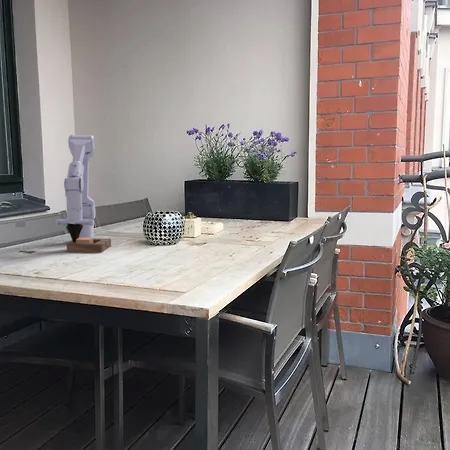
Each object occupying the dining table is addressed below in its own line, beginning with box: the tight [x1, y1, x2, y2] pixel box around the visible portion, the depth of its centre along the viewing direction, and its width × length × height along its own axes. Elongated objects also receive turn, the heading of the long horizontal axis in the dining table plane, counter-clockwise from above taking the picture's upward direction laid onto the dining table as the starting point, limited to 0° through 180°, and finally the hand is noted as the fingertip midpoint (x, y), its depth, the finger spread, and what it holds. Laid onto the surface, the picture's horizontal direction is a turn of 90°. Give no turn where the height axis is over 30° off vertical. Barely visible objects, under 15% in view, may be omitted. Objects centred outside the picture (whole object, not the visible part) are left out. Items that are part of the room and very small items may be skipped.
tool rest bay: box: [66, 237, 112, 254], centre depth 197 cm, size 14×13×3 cm
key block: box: [76, 237, 93, 243], centre depth 197 cm, size 5×5×4 cm
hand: (75, 243), depth 197 cm, fingers closed
